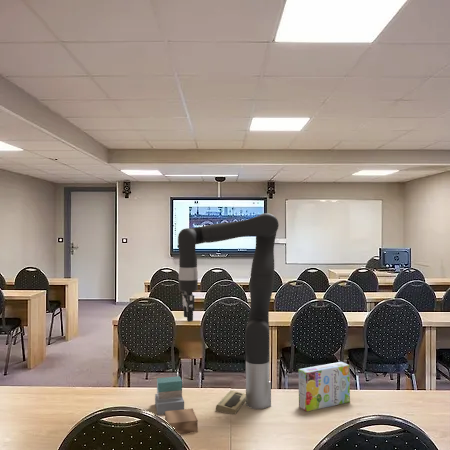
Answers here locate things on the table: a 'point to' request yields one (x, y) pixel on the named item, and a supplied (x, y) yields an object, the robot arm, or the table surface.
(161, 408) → the stand
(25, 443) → the table surface
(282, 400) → the table surface
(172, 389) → the housing
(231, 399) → the computer
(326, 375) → the snack box
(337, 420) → the table surface
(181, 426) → the stand
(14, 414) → the table surface
